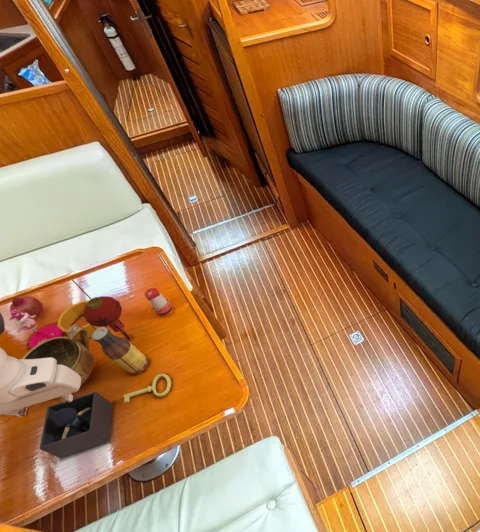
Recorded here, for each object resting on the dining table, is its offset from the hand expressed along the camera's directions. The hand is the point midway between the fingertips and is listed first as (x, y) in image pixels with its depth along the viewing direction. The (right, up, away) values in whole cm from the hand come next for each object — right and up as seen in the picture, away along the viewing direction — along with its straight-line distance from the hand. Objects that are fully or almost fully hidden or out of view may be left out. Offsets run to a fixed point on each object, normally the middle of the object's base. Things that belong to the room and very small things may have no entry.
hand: (47, 406), depth 97 cm
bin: (0, -11, +12) cm, 17 cm away
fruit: (-37, +17, +37) cm, 56 cm away
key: (+13, -3, +20) cm, 24 cm away
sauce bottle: (+5, +3, +25) cm, 26 cm away
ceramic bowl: (-12, 0, +23) cm, 26 cm away
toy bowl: (-18, +15, +35) cm, 42 cm away
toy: (+7, +18, +39) cm, 43 cm away
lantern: (-2, +11, +32) cm, 34 cm away
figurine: (-29, +11, +32) cm, 44 cm away
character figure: (0, -11, +12) cm, 16 cm away
